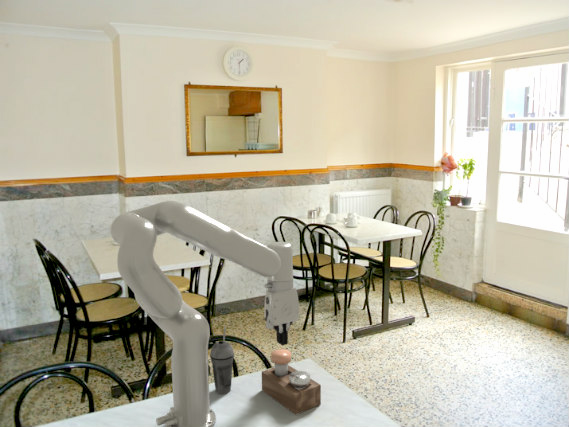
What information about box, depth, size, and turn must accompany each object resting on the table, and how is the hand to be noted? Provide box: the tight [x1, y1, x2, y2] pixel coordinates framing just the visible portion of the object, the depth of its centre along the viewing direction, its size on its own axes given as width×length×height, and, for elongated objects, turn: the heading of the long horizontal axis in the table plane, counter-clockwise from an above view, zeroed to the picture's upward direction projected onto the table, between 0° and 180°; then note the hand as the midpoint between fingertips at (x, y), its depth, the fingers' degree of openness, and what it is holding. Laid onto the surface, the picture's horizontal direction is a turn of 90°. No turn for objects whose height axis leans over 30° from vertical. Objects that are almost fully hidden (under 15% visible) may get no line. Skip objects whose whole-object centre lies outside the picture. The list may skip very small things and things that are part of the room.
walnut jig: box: [261, 364, 322, 416], centre depth 146 cm, size 9×17×6 cm, turn 36°
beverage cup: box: [209, 326, 235, 395], centre depth 149 cm, size 7×7×20 cm
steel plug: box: [289, 370, 311, 390], centre depth 142 cm, size 6×6×8 cm
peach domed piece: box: [270, 348, 292, 378], centre depth 149 cm, size 6×6×8 cm
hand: (282, 343), depth 148 cm, fingers closed
